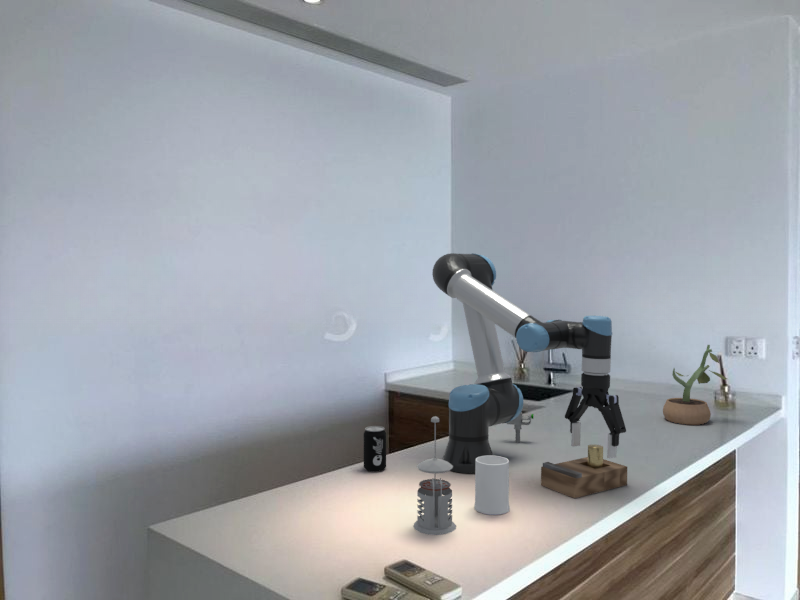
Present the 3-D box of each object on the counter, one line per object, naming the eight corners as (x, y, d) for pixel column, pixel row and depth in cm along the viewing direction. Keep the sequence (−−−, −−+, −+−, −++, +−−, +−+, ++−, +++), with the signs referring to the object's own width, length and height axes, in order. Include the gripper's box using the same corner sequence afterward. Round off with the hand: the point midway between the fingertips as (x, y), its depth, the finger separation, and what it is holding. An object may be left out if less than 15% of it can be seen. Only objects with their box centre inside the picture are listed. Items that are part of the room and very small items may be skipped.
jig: (574, 498, 165) (574, 475, 165) (541, 485, 176) (541, 463, 175) (627, 484, 176) (627, 462, 176) (592, 473, 186) (592, 452, 186)
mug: (492, 496, 167) (493, 450, 166) (522, 504, 161) (523, 456, 161) (467, 509, 158) (467, 460, 157) (497, 518, 152) (498, 467, 152)
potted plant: (659, 423, 247) (661, 345, 246) (665, 414, 263) (666, 340, 262) (726, 430, 237) (728, 348, 236) (727, 420, 253) (729, 343, 252)
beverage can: (366, 473, 186) (366, 431, 185) (361, 466, 192) (361, 426, 192) (388, 471, 188) (388, 430, 187) (383, 465, 194) (383, 425, 193)
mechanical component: (533, 444, 218) (533, 414, 217) (502, 442, 220) (502, 413, 219) (533, 441, 221) (533, 412, 220) (502, 440, 223) (502, 411, 222)
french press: (453, 517, 152) (454, 411, 151) (460, 537, 141) (460, 423, 140) (411, 518, 152) (412, 411, 151) (414, 538, 140) (415, 423, 139)
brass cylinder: (595, 485, 175) (596, 449, 175) (584, 481, 178) (584, 445, 178) (605, 483, 177) (606, 447, 177) (594, 479, 181) (594, 443, 180)
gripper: (642, 379, 168) (639, 461, 170) (572, 365, 189) (569, 439, 190) (623, 381, 164) (620, 465, 166) (553, 367, 185) (551, 442, 186)
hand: (593, 451), depth 178 cm, fingers open, 12 cm apart
